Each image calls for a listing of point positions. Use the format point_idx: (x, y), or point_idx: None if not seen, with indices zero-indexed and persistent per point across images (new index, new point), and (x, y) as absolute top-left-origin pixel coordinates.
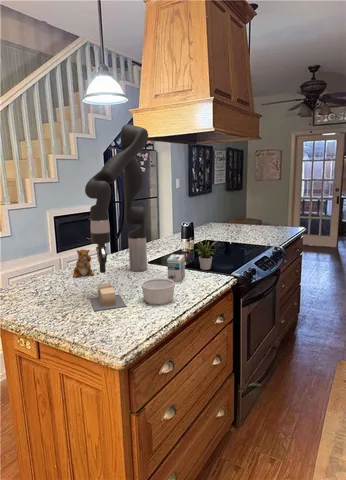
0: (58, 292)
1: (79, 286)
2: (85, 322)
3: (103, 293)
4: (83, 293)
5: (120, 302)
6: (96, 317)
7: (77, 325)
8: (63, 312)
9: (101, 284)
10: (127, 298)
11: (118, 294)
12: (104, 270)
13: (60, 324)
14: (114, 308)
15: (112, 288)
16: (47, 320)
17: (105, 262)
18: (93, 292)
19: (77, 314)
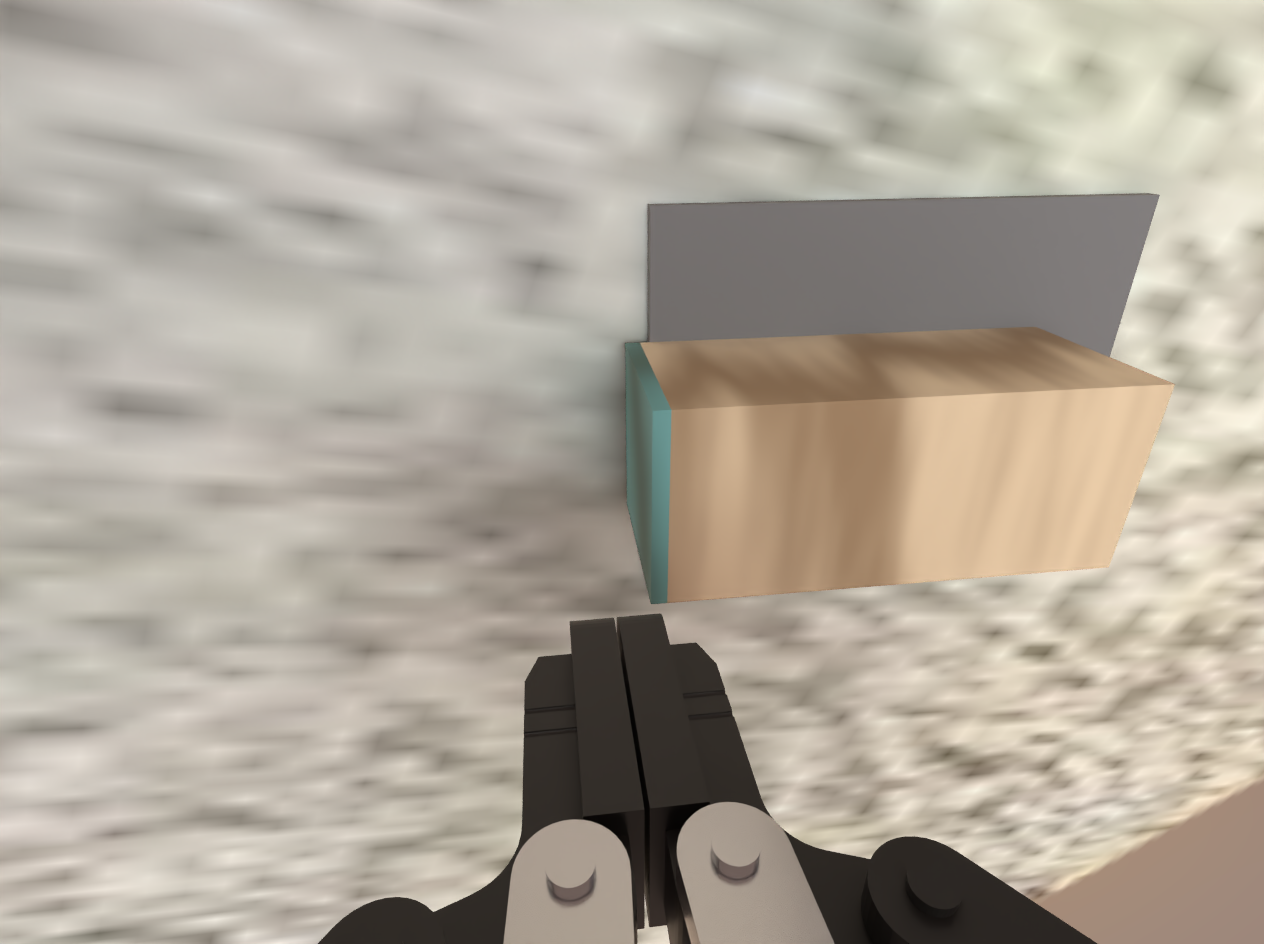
0: (306, 864)
1: (90, 700)
2: (1209, 625)
3: (1098, 547)
4: (413, 652)
5: (996, 252)
6: (1180, 543)
7: (1216, 675)
8: (891, 778)
9: (665, 552)
10: (855, 100)
11: (663, 222)
12: (717, 675)
13: (1110, 774)
14: (1100, 353)
15: (967, 402)
16: (981, 849)
17: (980, 895)
18: (405, 546)
19: (1004, 684)
